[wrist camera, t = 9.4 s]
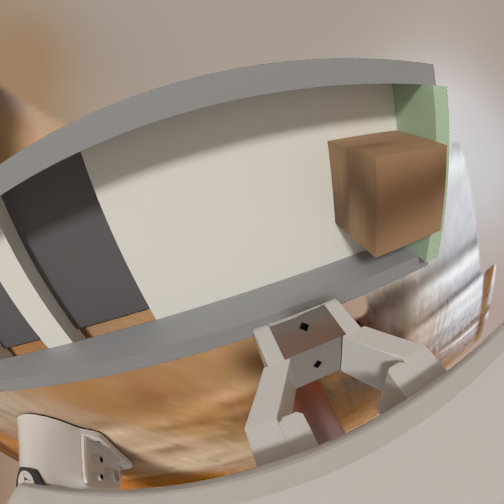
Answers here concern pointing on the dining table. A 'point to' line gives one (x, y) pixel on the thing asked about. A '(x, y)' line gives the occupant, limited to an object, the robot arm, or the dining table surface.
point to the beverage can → (317, 412)
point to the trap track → (196, 214)
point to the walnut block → (388, 188)
